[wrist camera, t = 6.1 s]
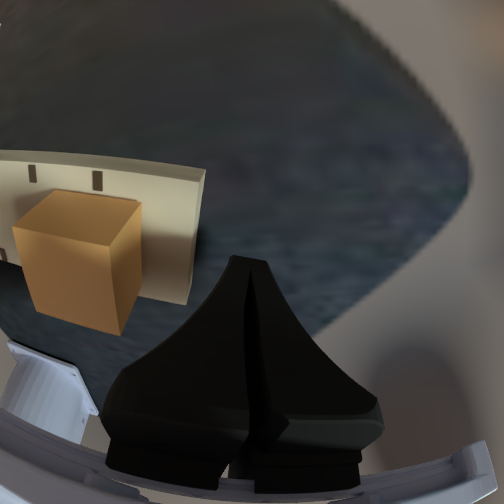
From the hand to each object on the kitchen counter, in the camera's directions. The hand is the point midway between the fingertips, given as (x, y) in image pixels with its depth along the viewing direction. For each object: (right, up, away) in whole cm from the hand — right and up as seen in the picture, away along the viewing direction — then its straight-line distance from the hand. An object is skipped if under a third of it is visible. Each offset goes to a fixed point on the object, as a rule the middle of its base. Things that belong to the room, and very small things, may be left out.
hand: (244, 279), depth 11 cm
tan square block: (-6, +2, 0) cm, 6 cm away
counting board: (-12, +4, +1) cm, 12 cm away
